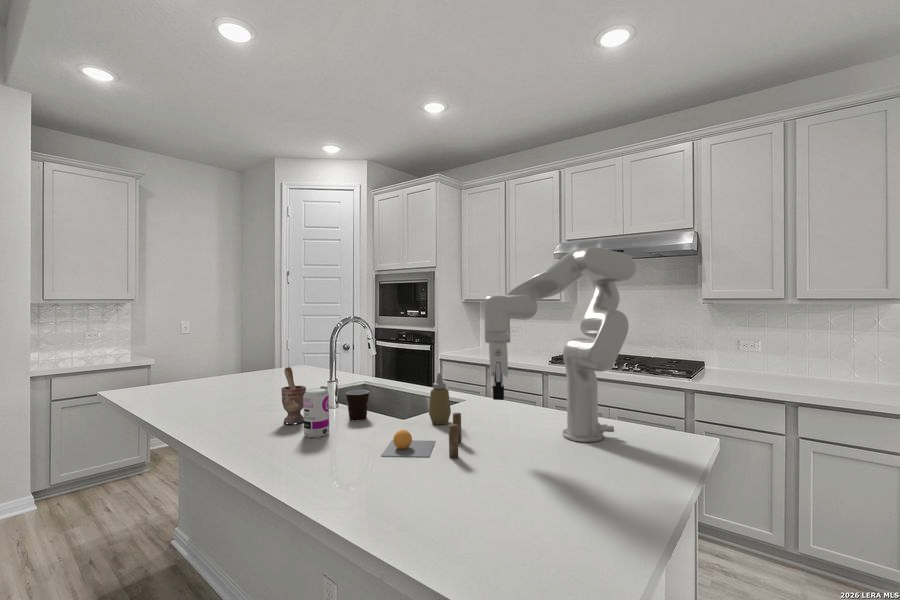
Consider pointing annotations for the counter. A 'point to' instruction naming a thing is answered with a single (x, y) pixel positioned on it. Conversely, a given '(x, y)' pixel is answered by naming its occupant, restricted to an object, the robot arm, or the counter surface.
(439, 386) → the squeeze bottle
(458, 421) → the post
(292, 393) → the mortar and pestle
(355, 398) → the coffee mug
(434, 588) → the counter surface
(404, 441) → the ball
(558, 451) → the counter surface
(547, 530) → the counter surface
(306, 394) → the supplement can
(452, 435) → the post
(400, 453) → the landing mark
